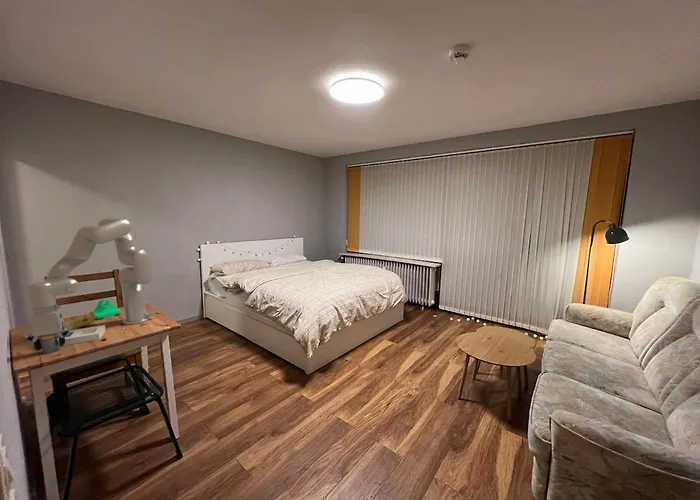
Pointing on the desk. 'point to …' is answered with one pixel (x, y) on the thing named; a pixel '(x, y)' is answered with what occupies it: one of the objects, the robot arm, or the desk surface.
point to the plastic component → (82, 321)
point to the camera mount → (106, 309)
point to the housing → (84, 335)
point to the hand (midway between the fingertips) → (50, 347)
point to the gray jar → (49, 343)
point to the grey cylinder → (66, 334)
